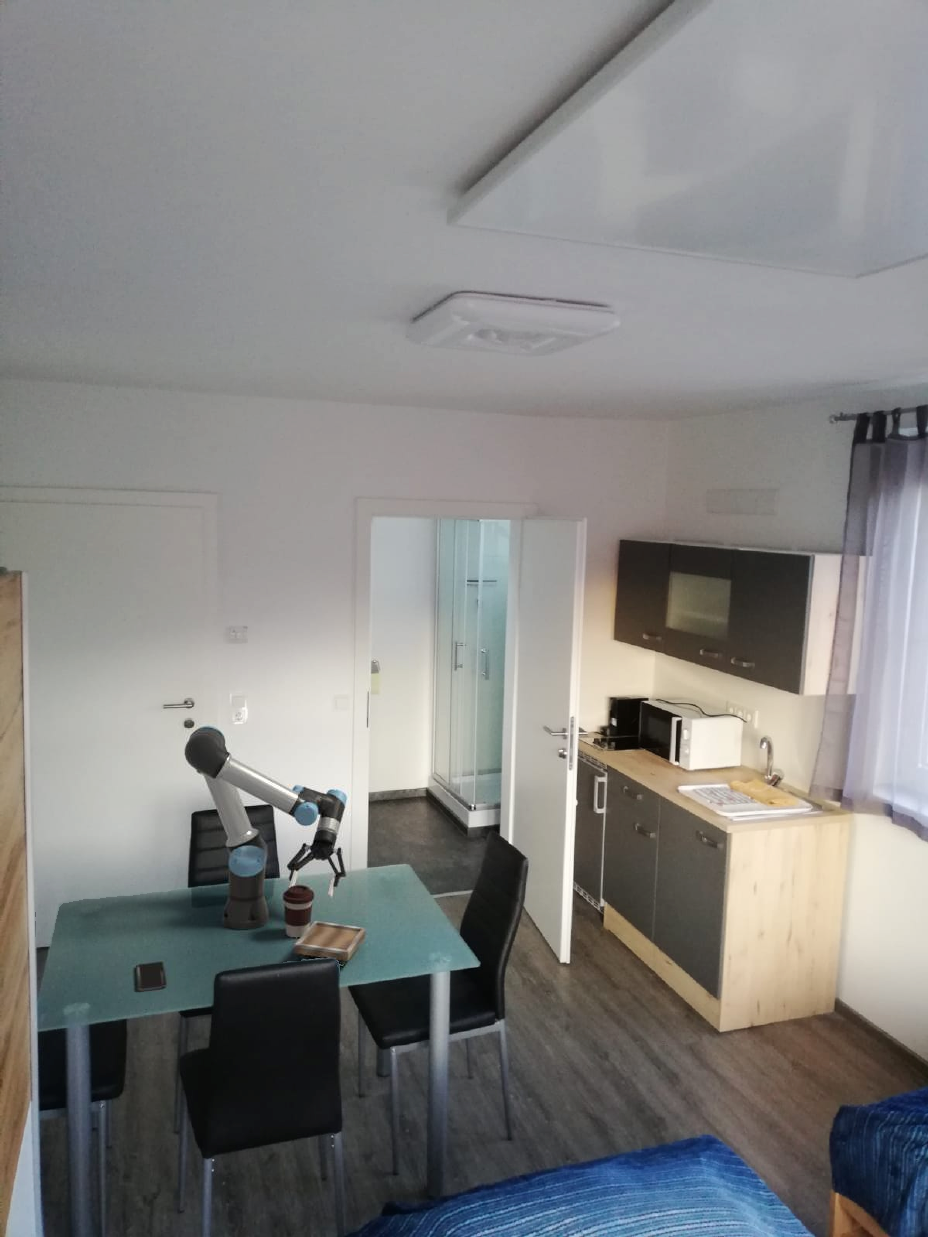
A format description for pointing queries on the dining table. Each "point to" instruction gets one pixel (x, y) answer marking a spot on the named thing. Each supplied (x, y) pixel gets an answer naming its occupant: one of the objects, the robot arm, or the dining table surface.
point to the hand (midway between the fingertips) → (310, 893)
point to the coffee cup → (297, 909)
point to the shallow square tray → (330, 941)
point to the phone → (150, 976)
